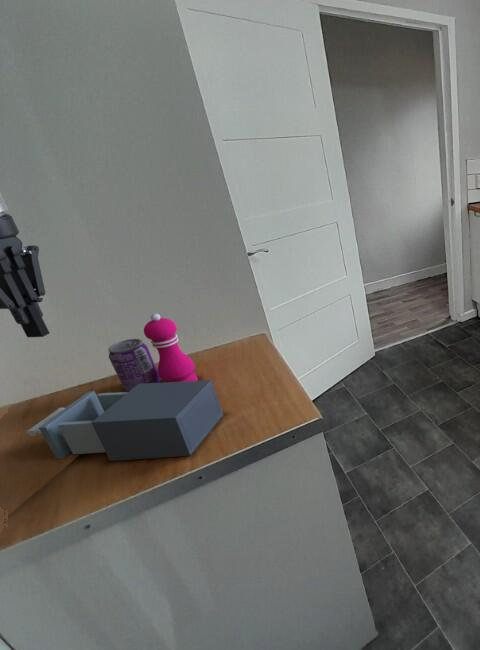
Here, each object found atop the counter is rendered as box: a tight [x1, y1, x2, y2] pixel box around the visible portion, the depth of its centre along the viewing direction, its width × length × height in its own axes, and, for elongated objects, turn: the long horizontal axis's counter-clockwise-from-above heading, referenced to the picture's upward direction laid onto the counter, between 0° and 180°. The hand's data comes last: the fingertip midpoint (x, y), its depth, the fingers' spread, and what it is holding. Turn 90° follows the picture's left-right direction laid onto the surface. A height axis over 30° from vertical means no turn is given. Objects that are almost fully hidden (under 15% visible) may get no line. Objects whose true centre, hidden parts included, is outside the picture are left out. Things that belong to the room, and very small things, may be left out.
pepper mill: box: [143, 313, 198, 382], centre depth 100 cm, size 7×7×20 cm
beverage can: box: [108, 338, 162, 392], centre depth 100 cm, size 7×7×12 cm
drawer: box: [26, 390, 128, 460], centre depth 83 cm, size 18×11×8 cm, turn 97°
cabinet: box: [91, 379, 224, 462], centre depth 85 cm, size 15×13×10 cm
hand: (38, 335), depth 81 cm, fingers closed
